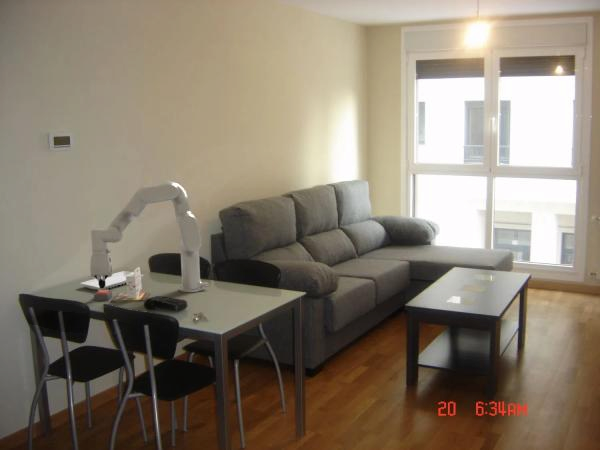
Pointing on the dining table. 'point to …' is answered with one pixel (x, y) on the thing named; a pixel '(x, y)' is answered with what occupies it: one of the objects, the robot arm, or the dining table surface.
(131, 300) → the picture board
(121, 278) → the tray
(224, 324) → the dining table surface
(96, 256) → the robot arm
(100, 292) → the button
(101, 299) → the button base
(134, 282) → the ink cartridge box
